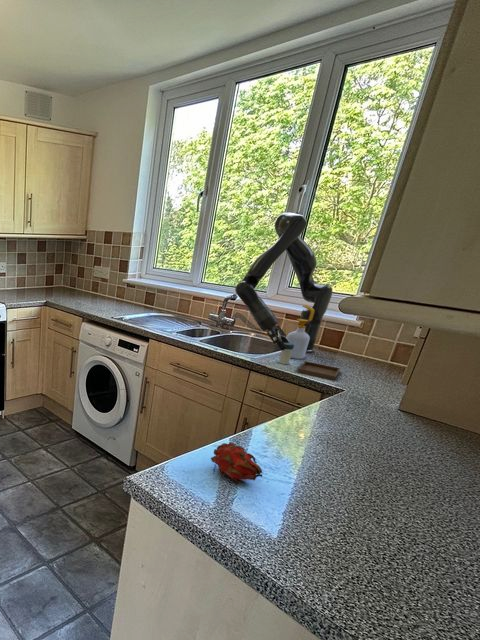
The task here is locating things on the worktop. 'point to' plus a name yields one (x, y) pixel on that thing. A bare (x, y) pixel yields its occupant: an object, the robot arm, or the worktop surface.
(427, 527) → the worktop surface
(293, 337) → the soap bottle
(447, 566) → the worktop surface
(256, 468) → the dragon fruit
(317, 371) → the tray
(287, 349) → the shaving stick
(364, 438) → the worktop surface
